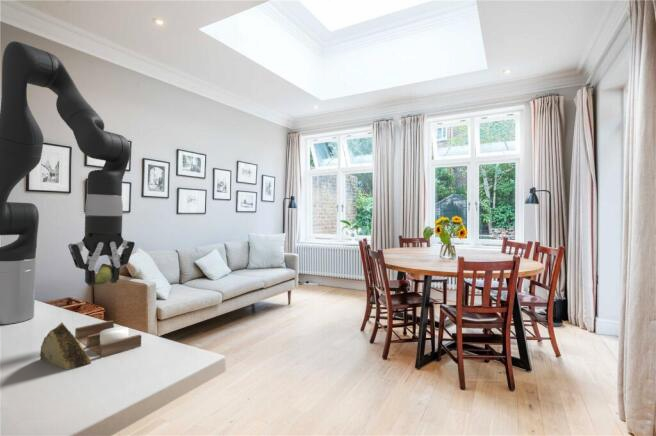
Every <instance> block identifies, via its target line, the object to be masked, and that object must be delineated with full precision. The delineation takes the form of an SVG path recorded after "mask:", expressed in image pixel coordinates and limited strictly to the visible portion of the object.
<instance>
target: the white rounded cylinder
mask: <svg viewBox="0 0 656 436" xmlns="http://www.w3.org/2000/svg"><path fill="white" fill-rule="evenodd" d="M129 329H130V328H129V327H126V326H115V327H114V328H109V329H106V330H103V331H101V332H100V347H101V344H104V343H108V342H112V341H116V340H120V339H124V338H128V337H130V336H129V335H130V334H129V333H130V332H129Z"/></svg>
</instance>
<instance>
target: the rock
mask: <svg viewBox="0 0 656 436" xmlns="http://www.w3.org/2000/svg"><path fill="white" fill-rule="evenodd" d="M39 357H40V358H39V359H40V360H41V361H45V362H47V363H50V364H53V365H55V366H58V367H60V368H62V369H65V370H71V369H77V368H81V367H84V366H88V365H91V364H92V363H91V362H92V361H91V357H90V356H89V355H88V354H87V352H86V350H85V348H83V344H82V343H81V342H79V341H78V339H76V338H75V334H73V333H72V332H71V331H70V330H69V329H68V328H67V326H66V325H65V323H64V322H62V321H61V322H60V323H59V324H58V325H57V326H56V327H54V328H53V329H51V330H50V331H49V332H48V333H47V335H46V336H44V338H43V340H42V343H41V346H40V352H39Z"/></svg>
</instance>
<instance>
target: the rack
mask: <svg viewBox="0 0 656 436" xmlns="http://www.w3.org/2000/svg"><path fill="white" fill-rule="evenodd" d="M114 324H115V322H114V320H107V321H106V320H105V321H103V322H98V323H93V324H90V325H83V326H80V327H79V326H78V327H75V332H74V333H75V334H74V337H75V338H76V339H78V341H79V342H80V344H81V345H83V346H85V347H86V348H88V349H89V350H91V351H92V352H94V353H95V354H97V355H98V356H99V357H100V358H105V357H108V356H112V355H115V354H119V353H122V352H126V351H129V350H133V349H136V348H140V347H142V334H136V335H133V336H129V337H128V338H124V339H120V340H116V341H112V342H108V343H104V344H101V347H100V332H101V331H103V330H106V329H109V328H115V327H114V326H115V325H114Z"/></svg>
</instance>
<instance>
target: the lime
mask: <svg viewBox="0 0 656 436" xmlns="http://www.w3.org/2000/svg"><path fill="white" fill-rule="evenodd" d="M111 267H112V266H111V265H109V264H106V263H102V264H101V265H100V268H99V270H98V272H97V274H96V275H95V285H105V284H107V283H109V282H110V280H111V278H112V275H113V272H112V269H111ZM95 285H94V286H95Z"/></svg>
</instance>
